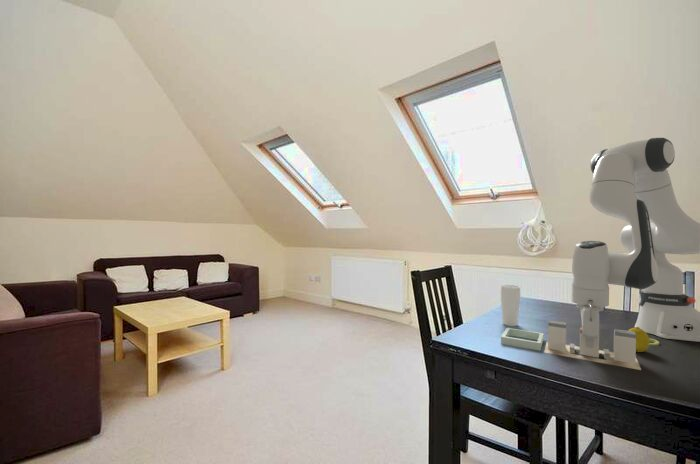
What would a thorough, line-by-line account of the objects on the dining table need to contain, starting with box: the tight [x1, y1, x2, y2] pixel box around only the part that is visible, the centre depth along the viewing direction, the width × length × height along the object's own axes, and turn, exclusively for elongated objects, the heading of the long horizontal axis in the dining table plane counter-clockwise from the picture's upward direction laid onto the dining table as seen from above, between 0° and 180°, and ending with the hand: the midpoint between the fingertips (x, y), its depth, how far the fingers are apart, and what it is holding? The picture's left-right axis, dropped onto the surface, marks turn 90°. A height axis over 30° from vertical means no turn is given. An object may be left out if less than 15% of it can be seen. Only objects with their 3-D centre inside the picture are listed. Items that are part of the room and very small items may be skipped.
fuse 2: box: [613, 328, 637, 364], centre depth 94 cm, size 4×3×8 cm, turn 56°
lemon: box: [627, 327, 651, 353], centre depth 101 cm, size 6×6×8 cm
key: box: [649, 337, 660, 346], centre depth 114 cm, size 7×12×2 cm, turn 170°
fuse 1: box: [547, 319, 567, 352], centre depth 103 cm, size 4×3×8 cm, turn 56°
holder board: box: [543, 341, 642, 371], centre depth 99 cm, size 22×11×1 cm, turn 56°
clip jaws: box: [569, 342, 611, 360], centre depth 99 cm, size 9×4×2 cm, turn 56°
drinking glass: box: [500, 284, 521, 327], centre depth 129 cm, size 7×7×15 cm
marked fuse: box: [579, 326, 600, 359], centre depth 99 cm, size 4×3×8 cm, turn 56°
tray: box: [500, 327, 545, 351], centre depth 110 cm, size 11×11×3 cm
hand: (589, 344), depth 99 cm, fingers closed on marked fuse, 3 cm apart
